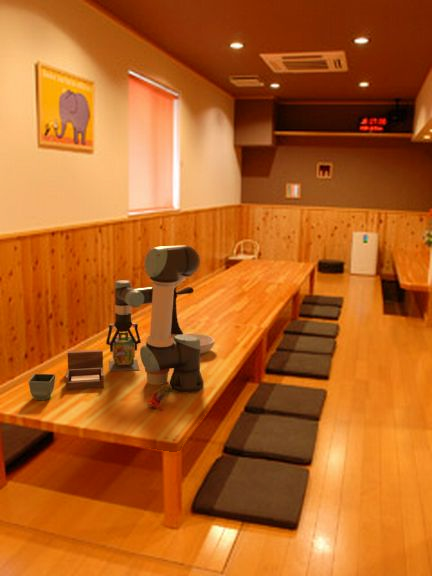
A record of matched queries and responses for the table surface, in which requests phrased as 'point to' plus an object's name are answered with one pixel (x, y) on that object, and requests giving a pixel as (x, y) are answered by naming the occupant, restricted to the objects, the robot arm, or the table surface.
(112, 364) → the rubber mat
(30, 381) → the flower pot
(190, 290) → the flared trumpet-armed statue
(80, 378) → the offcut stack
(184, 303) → the table surface
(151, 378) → the reusable coffee cup
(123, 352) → the chalk box
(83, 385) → the walnut rack
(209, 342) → the serving bowl
